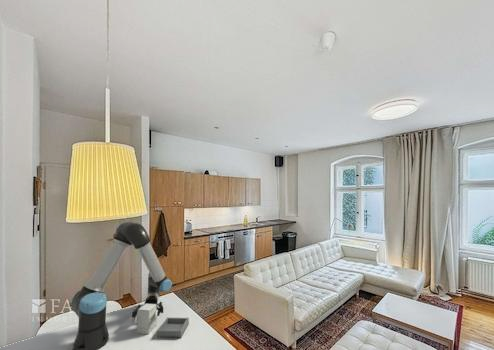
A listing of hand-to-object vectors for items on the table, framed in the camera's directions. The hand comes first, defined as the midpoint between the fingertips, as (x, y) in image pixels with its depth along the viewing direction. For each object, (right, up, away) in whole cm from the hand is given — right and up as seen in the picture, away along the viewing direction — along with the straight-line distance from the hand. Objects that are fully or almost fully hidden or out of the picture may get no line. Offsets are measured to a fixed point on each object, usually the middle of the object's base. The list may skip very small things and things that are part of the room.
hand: (145, 319), depth 122 cm
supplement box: (-1, -8, +4) cm, 9 cm away
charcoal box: (+14, -8, +3) cm, 17 cm away
